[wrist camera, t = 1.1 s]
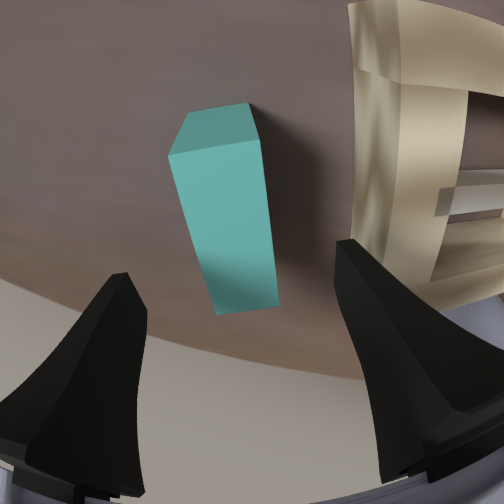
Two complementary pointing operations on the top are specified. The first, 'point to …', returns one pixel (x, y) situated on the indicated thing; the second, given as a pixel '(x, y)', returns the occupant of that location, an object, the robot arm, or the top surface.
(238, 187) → the teal block
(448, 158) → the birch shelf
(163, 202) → the top surface
